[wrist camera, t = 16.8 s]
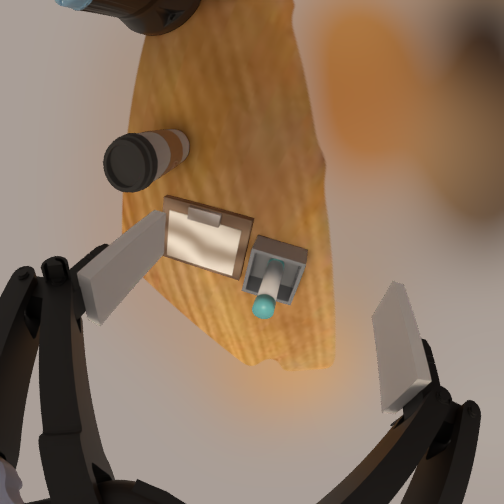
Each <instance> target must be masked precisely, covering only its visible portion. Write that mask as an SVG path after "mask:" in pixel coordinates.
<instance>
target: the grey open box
mask: <svg viewBox="0 0 504 504" xmlns="http://www.w3.org/2000/svg"><path fill="white" fill-rule="evenodd" d="M307 252H308V250H307V249H303V248H300V247H297V246H294V245H290V244H287V243H284V242H280V241H277V240H273V239H270V238H267V237H263V236H260V235H258V236H257V239H256V241H255V243H254V245H253V247H252V250H251V255H250V259H249V263H248V267H247V271H246V275H245V279H244V283H243V288H242V291H244V292H248V293H251V294H254V295H258V292H259V289H260V286H261V283H262V280H263V277H264V274H265V271H266V268H267V264H268V261H269V260H270V259H271V258H275V259H278V260H282V261H283V262H284V270H283V273H282V277H281V281H280V286H279V290H278V294H277V298H276V301H277V302H281V303H284V304H288V305H291V302H292V300H293V297H294V295H295V292H296V290H297V287H298V285H299V282H300V279H301V277H302V274H303V272H304V269H305V266H306V261H307Z"/></svg>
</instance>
